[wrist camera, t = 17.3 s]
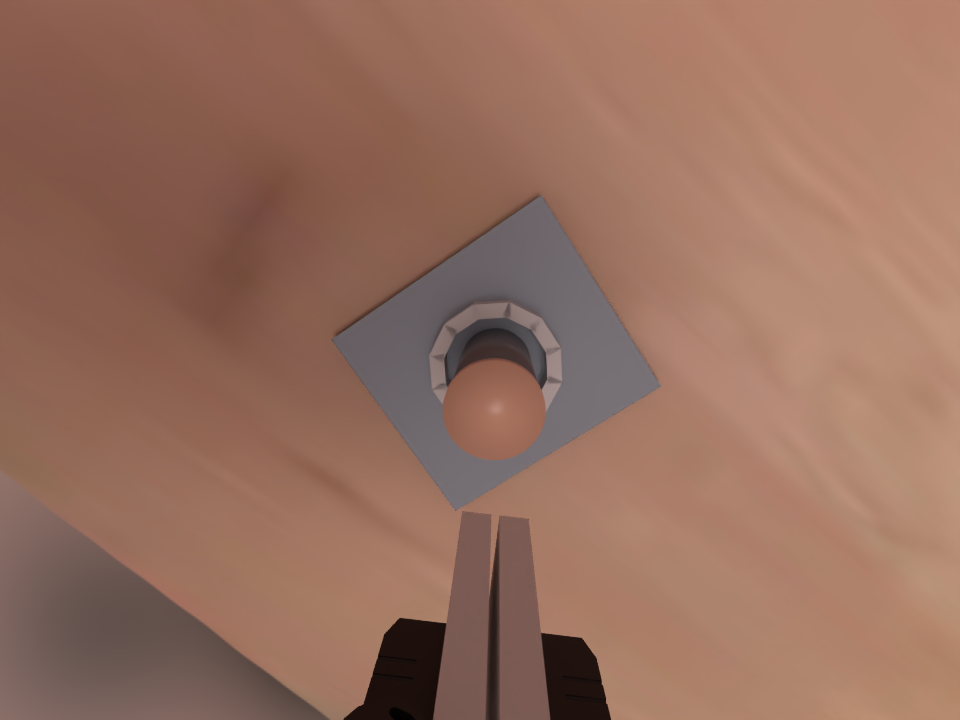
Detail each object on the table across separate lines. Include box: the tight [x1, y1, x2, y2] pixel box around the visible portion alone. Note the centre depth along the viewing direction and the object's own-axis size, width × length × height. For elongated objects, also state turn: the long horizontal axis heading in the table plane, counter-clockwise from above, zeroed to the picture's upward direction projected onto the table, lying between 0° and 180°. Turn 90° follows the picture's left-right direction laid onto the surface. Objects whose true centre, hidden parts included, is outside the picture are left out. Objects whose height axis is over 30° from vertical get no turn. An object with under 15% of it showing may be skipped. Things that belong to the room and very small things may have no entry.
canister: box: [443, 328, 546, 460], centre depth 33 cm, size 5×5×12 cm
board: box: [332, 195, 661, 511], centre depth 38 cm, size 18×16×3 cm
